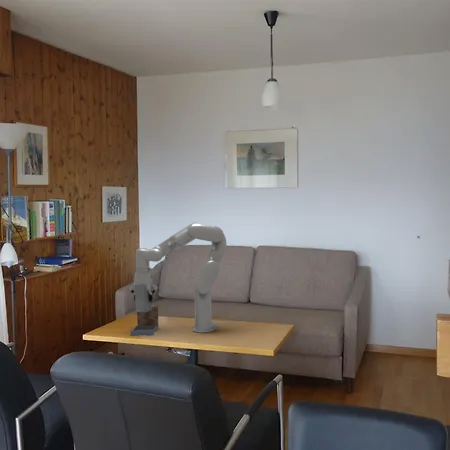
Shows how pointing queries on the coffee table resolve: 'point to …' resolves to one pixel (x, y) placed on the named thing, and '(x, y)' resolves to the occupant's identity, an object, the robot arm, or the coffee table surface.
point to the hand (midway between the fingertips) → (143, 301)
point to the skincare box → (142, 298)
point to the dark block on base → (148, 317)
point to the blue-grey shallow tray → (143, 330)
